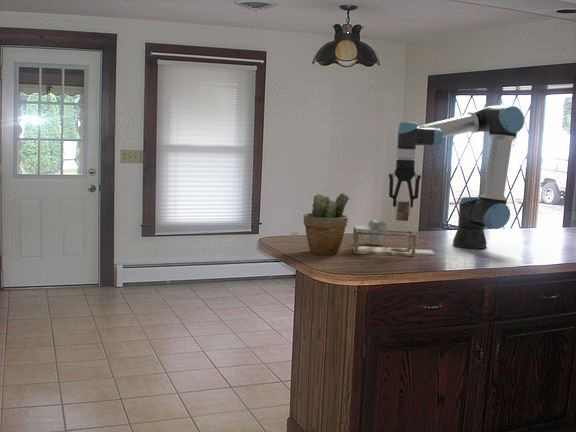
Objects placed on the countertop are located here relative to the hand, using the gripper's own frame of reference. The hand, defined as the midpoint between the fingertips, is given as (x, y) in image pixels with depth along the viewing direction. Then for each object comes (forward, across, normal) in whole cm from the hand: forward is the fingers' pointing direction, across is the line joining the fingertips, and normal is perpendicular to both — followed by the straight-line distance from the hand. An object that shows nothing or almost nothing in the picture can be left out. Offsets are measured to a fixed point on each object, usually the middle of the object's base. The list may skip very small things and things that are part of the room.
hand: (402, 214), depth 291 cm
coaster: (+16, -10, -4) cm, 20 cm away
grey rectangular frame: (+16, +7, 0) cm, 18 cm away
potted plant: (+16, +33, +8) cm, 38 cm away
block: (+2, 0, 0) cm, 2 cm away
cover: (+7, +15, 0) cm, 16 cm away
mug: (+17, +10, -22) cm, 29 cm away
